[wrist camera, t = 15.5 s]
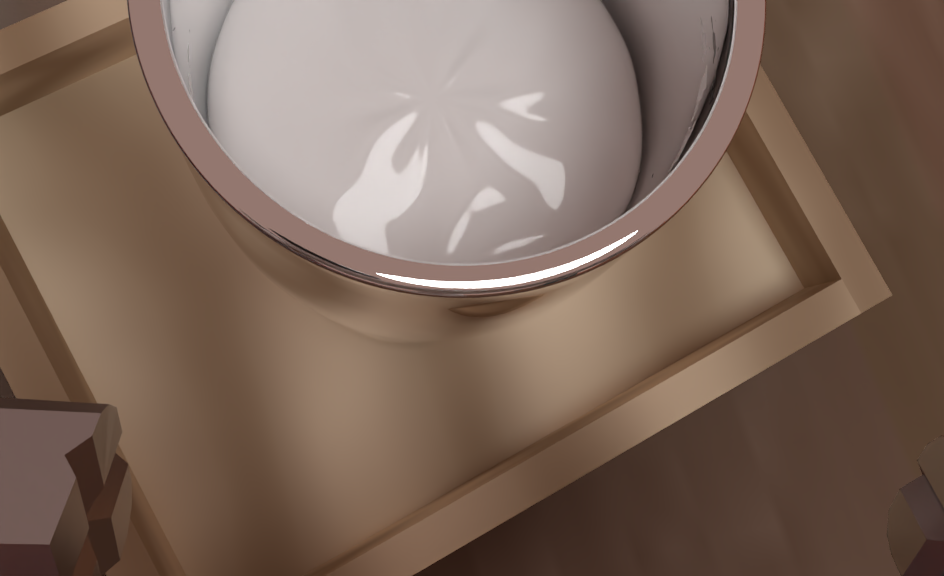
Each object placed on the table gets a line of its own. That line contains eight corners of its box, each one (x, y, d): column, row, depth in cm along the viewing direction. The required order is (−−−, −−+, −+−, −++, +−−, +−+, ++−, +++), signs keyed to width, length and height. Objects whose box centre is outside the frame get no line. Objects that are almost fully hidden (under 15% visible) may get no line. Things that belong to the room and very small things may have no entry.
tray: (201, 672, 23) (176, 713, 20) (-77, 130, 24) (-140, 91, 21) (833, 306, 26) (892, 294, 23) (567, -161, 27) (591, -230, 24)
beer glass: (378, 415, 23) (392, 467, 8) (216, 202, 23) (-49, -115, 9) (584, 256, 24) (917, 54, 10) (429, 53, 24) (519, -457, 10)
